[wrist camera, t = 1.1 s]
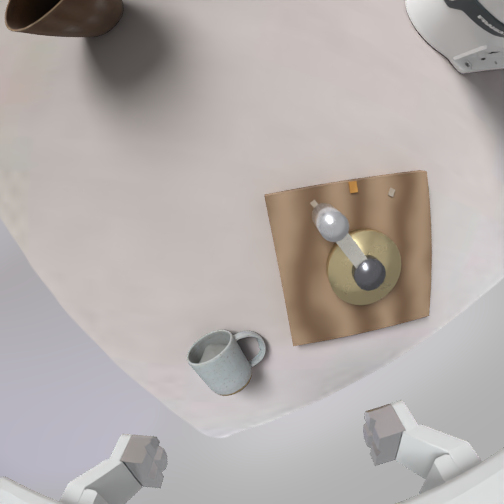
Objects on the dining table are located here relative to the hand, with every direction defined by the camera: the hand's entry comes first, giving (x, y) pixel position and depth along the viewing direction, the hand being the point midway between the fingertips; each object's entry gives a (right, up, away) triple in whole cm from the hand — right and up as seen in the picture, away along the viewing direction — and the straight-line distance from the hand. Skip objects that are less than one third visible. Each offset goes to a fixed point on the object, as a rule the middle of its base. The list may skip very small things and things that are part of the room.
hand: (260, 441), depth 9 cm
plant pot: (-24, +44, +20) cm, 54 cm away
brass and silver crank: (+12, +7, +27) cm, 31 cm away
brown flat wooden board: (+14, +6, +30) cm, 33 cm away
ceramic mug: (-4, -8, +36) cm, 37 cm away
